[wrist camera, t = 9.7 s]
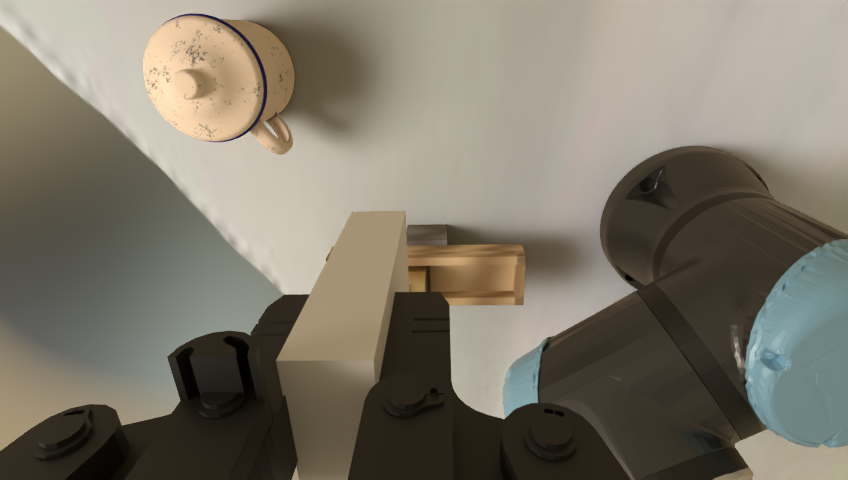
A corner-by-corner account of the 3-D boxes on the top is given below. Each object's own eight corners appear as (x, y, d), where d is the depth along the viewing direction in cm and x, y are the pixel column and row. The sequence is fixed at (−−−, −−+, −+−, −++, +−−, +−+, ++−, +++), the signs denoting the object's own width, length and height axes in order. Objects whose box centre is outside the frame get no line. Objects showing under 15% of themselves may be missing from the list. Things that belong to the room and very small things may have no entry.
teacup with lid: (178, 61, 42) (89, 70, 32) (248, -6, 40) (178, -21, 29) (270, 166, 46) (218, 205, 35) (339, 110, 44) (306, 134, 33)
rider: (426, 263, 43) (424, 293, 38) (427, 289, 45) (425, 322, 39) (383, 263, 44) (375, 294, 39) (385, 289, 45) (378, 322, 40)
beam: (515, 223, 48) (526, 251, 41) (512, 275, 50) (522, 309, 44) (340, 226, 48) (325, 254, 42) (346, 277, 51) (332, 310, 45)
